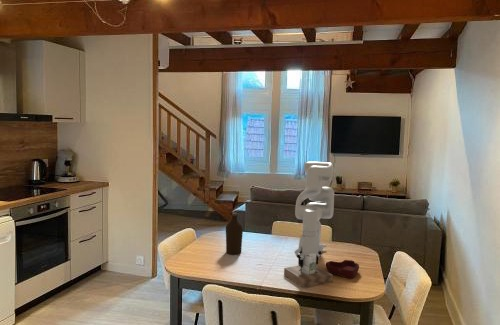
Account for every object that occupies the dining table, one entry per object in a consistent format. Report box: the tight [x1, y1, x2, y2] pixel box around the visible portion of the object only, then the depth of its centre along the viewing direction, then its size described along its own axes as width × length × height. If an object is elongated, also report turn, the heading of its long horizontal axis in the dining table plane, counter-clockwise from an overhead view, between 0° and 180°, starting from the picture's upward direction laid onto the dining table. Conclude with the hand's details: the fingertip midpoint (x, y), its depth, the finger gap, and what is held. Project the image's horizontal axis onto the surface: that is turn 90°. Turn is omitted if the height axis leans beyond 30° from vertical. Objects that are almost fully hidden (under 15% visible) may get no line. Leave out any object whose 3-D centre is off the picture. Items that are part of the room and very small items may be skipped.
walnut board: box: [283, 265, 334, 289], centre depth 205 cm, size 18×18×4 cm
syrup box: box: [300, 253, 317, 275], centre depth 204 cm, size 6×6×14 cm
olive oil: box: [225, 212, 244, 256], centre depth 242 cm, size 11×11×25 cm
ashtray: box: [325, 259, 360, 279], centre depth 213 cm, size 18×16×5 cm
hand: (308, 264), depth 204 cm, fingers open, 9 cm apart
